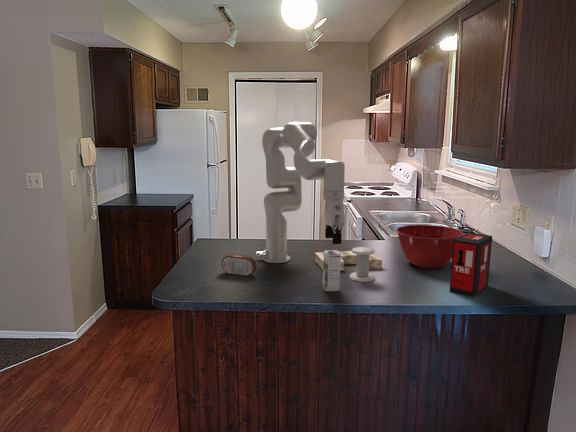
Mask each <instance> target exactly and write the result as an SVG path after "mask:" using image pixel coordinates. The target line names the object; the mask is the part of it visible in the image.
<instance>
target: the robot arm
mask: <svg viewBox="0 0 576 432" xmlns="http://www.w3.org/2000/svg"><path fill="white" fill-rule="evenodd" d="M317 137H318V130H317V128H316V126H315V125H314V124H313V123H312V122H309V121H306V122H304V121H302V122H301V121H300V122H299V121H293V122H292V121H291V122H288V123H287V124H285V125H284V126H283V127H272V128H269V129H266V130H265V131H264V133H263V134H262V140H261V142H262V144H261V145H262V148H263V153H264V156H265V174H266V184H267V187H268V188H270V189H274V190H275V189H276V190H277V189H278V190H279V189H287V190H284V191H283V190H282V191H281V190H279V191H272V192H269V193H267V194H266V195H264V199H263V206H264V213H265V233H266V234H265V235H266V236H265V247H266V248H265V249H264V250H263V251H256V252H255V256H256V257H258V256H259V258H260V257H262V260H263V262H266V263H268V264H269V263H271V264H282V263H283V264H284V263H287V262H289V261H290V260H291V257H290V256H289V255H288V223H287V222H288V221H287V219H286V218H285V215H283V213H287V212H296V211H299V210H300V209H301V207H302V203H303V202H302V201H303V199H302V195H303V194H302V178H303V179H304V180H306V181H316V180H317V181H318V180H319V181H320V180H321V181H322V180H323V191H322V192H323V194H322V195H323V196H322V197H323V200H324V201H325V203H324V222H325V225H324V227H325V228H324V229H325V230H324V231H325V232H324V233H325V234H324V236H325V237H324V238H325V239H332V244H333V245H341V244H342V241H343V240H342V238H343V237H342V235H343V230H342V229H343V227H344V226H345V207H344V200H345V162H343V161H341V160H332V159H325V158H324V159H308V157H309V156H311V155H312V154H313V153H314V151H315V149H316V144H315V141H316V140H317ZM280 148H281V149H282V148H285V149H287V148H291V149H292V150H293V152H294V153H293V165H294V167H293V166H286V161H285V160H286V158H285V155H284V153H283V152H282V150H281V149H280Z"/></svg>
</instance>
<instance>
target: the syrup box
mask: <svg viewBox="0 0 576 432" xmlns="http://www.w3.org/2000/svg"><path fill="white" fill-rule="evenodd" d="M323 252H324V264H323V270H322V288H323V290H324V292H340V283H341V271H340V265H341V254H340V252H339V250H338V249H337V250H336V249H335V250H334V249H326V250H323Z"/></svg>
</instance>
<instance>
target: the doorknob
mask: <svg viewBox="0 0 576 432" xmlns="http://www.w3.org/2000/svg"><path fill="white" fill-rule="evenodd" d="M351 251H352V252H353V253H355V254H357V261H356V264H355V265H356V269H355V272H351V273H350V274H349V279H350V280H351V281H354V282H357V281H358V283H370V282H373V281H375V278H376V277H375V275H374V274H373V273H370V272H369V270H370V269H369V255H371V254H375V252H376V251H375V249H374V248H372V247H371V248H370V247H365V246H364V247H363V246H356V247H353V248H351Z"/></svg>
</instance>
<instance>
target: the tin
mask: <svg viewBox="0 0 576 432" xmlns="http://www.w3.org/2000/svg"><path fill="white" fill-rule="evenodd" d="M221 260H222V261H221V267H222V270H223V271H224V273H226V274H229V275H231V276H233V275H234V276H240V277H241V276H242V277H250V276H252V275H253V274H255V272H256V271H257V268H258V266H257V262H256V260H255V258H253V257H252V256H250V255H245V254H244V255H243V254H236V253H229V254H228V253H227V255H225V256H224V257H223V258H222V259H221Z"/></svg>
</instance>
